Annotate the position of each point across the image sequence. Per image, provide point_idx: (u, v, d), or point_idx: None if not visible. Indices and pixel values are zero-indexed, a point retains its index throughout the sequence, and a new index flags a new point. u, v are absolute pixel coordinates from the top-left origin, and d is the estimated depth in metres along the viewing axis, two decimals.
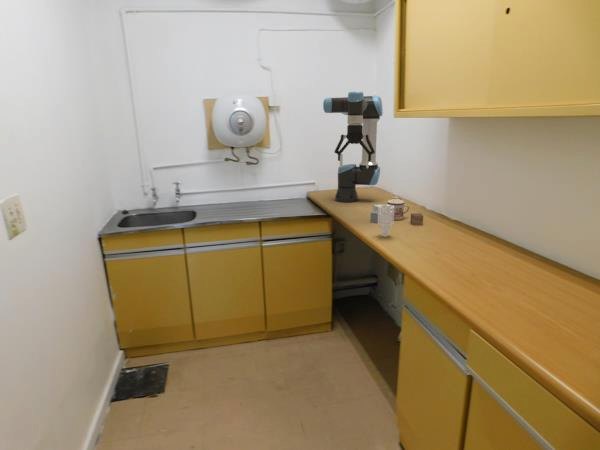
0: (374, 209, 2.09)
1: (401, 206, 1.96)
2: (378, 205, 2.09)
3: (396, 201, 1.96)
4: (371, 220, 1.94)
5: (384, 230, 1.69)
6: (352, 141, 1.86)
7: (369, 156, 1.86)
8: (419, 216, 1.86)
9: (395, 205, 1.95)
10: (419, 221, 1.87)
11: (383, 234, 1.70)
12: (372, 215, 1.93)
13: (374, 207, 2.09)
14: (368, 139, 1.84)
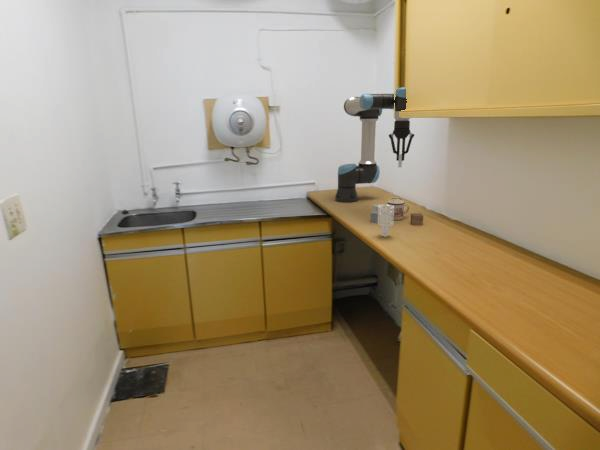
0: (374, 209, 2.09)
1: (401, 206, 1.96)
2: (378, 205, 2.09)
3: (396, 201, 1.96)
4: (371, 220, 1.94)
5: (384, 230, 1.69)
6: None
7: (403, 156, 1.92)
8: (419, 216, 1.86)
9: (395, 205, 1.95)
10: (419, 221, 1.87)
11: (383, 234, 1.70)
12: (372, 215, 1.93)
13: (374, 207, 2.09)
14: (411, 139, 1.88)
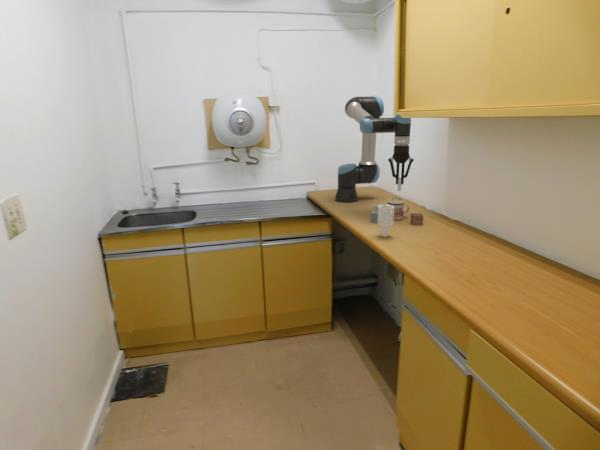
0: (374, 209, 2.09)
1: (401, 206, 1.96)
2: (378, 205, 2.09)
3: (396, 201, 1.96)
4: (371, 220, 1.94)
5: (384, 230, 1.69)
6: (398, 161, 1.92)
7: (402, 179, 1.94)
8: (419, 216, 1.86)
9: (395, 205, 1.95)
10: (419, 221, 1.87)
11: (383, 234, 1.70)
12: (372, 215, 1.93)
13: (374, 207, 2.09)
14: None
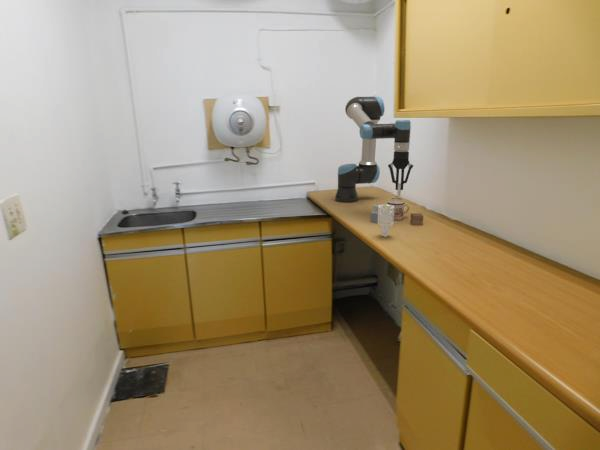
0: (374, 209, 2.09)
1: (401, 206, 1.96)
2: (378, 205, 2.09)
3: (396, 201, 1.96)
4: (371, 220, 1.94)
5: (384, 230, 1.69)
6: None
7: (401, 185, 1.95)
8: (419, 216, 1.86)
9: (395, 205, 1.95)
10: (419, 221, 1.87)
11: (383, 234, 1.70)
12: (372, 215, 1.93)
13: (374, 207, 2.09)
14: (410, 169, 1.91)
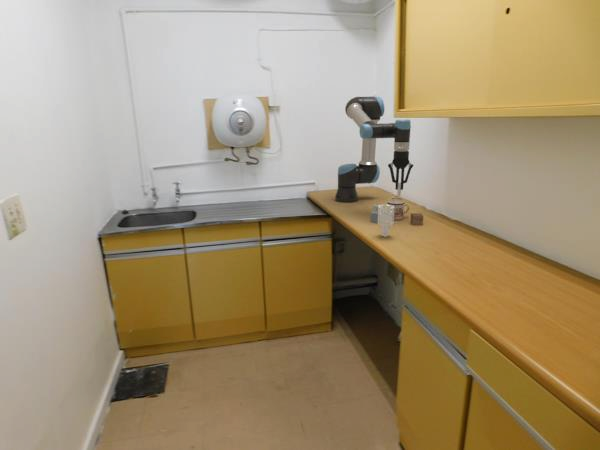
0: (374, 209, 2.09)
1: (401, 206, 1.96)
2: (378, 205, 2.09)
3: (396, 201, 1.96)
4: (371, 220, 1.94)
5: (384, 230, 1.69)
6: None
7: (402, 185, 1.95)
8: (419, 216, 1.86)
9: (395, 205, 1.95)
10: (419, 221, 1.87)
11: (383, 234, 1.70)
12: (372, 215, 1.93)
13: (374, 207, 2.09)
14: (410, 169, 1.91)
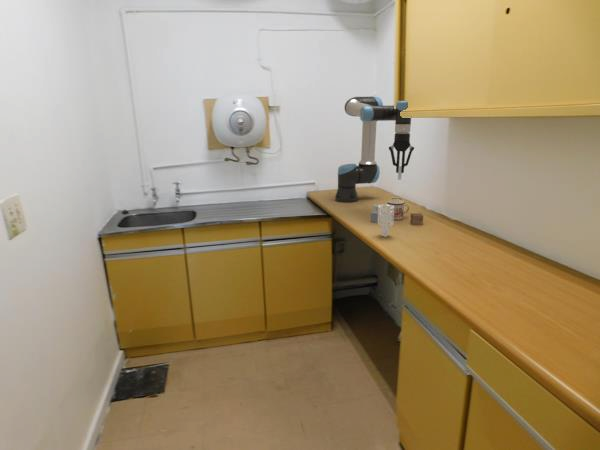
0: (374, 209, 2.09)
1: (401, 206, 1.96)
2: (378, 205, 2.09)
3: (396, 201, 1.96)
4: (371, 220, 1.94)
5: (384, 230, 1.69)
6: None
7: (402, 168, 1.93)
8: (419, 216, 1.86)
9: (395, 205, 1.95)
10: (419, 221, 1.87)
11: (383, 234, 1.70)
12: (372, 215, 1.93)
13: (374, 207, 2.09)
14: (411, 152, 1.89)
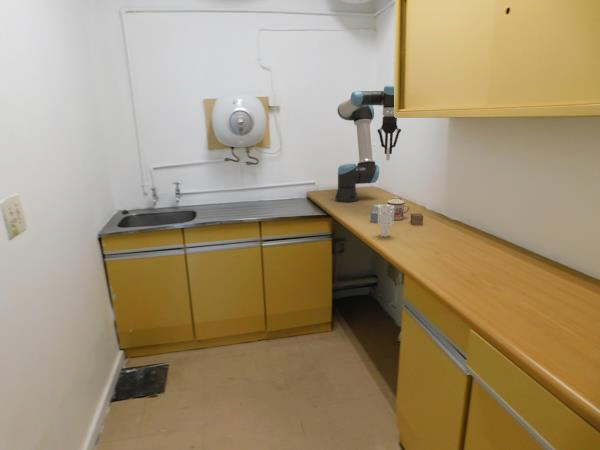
0: (374, 209, 2.09)
1: (401, 206, 1.96)
2: (378, 205, 2.09)
3: (396, 201, 1.96)
4: (371, 220, 1.94)
5: (384, 230, 1.69)
6: None
7: (390, 149, 2.06)
8: (419, 216, 1.86)
9: (395, 205, 1.95)
10: (419, 221, 1.87)
11: (383, 234, 1.70)
12: (372, 215, 1.93)
13: (374, 207, 2.09)
14: (398, 133, 2.02)
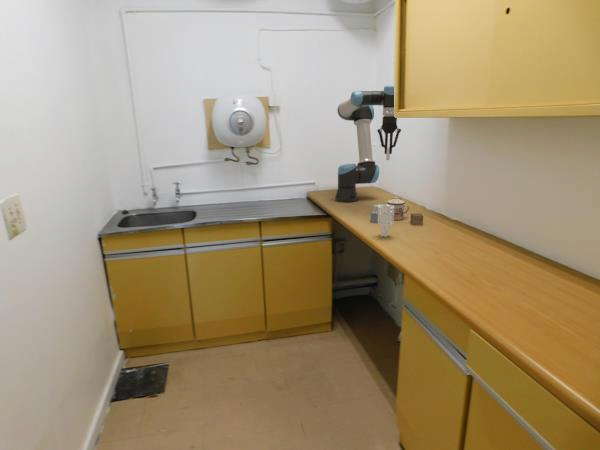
0: (374, 209, 2.09)
1: (401, 206, 1.96)
2: (378, 205, 2.09)
3: (396, 201, 1.96)
4: (371, 220, 1.94)
5: (384, 230, 1.69)
6: None
7: (390, 149, 2.06)
8: (419, 216, 1.86)
9: (395, 205, 1.95)
10: (419, 221, 1.87)
11: (383, 234, 1.70)
12: (372, 215, 1.93)
13: (374, 207, 2.09)
14: (398, 133, 2.02)
